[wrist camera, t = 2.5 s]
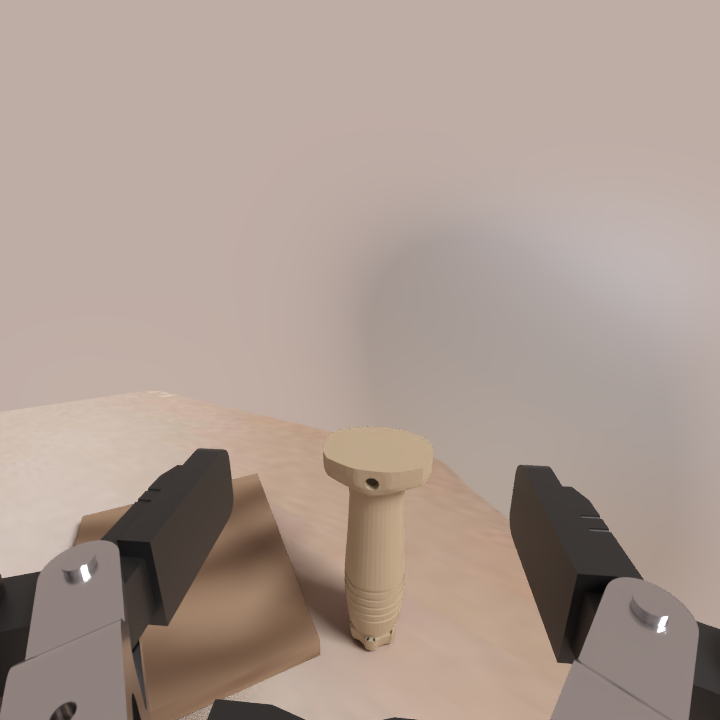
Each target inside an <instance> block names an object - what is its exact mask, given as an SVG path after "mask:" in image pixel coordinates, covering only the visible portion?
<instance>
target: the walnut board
mask: <svg viewBox="0 0 720 720" xmlns="http://www.w3.org/2000/svg"><path fill="white" fill-rule="evenodd" d="M232 486H233V495H234V501H233V508H232V512H231V515H230V518H229V520H228V522H227V523H226V525H225V527H224V529H223V530H222V532H221V534H220V536H219V537H218V539H217V541H216V543H215V544H214V546H213V548H212V550H211V551H210V553H209V555H208V557H207V558H206V560H205V562H204V564H203V565H202V567H201V569H200V571H199V572H198V574H197V576H196V578H195V579H194V581H193V583H192V585H191V587H190V588H189V590H188V592H187V594H186V595H185V597H184V599H183V601H182V602H181V604H180V606H179V608H178V609H177V611H176V613H175V615H174V616H173V618H172V620H171V622H170V623H169V625H168V626H159V625H148V626H147V628H146V629H145V631H144V632H143V634H142V636H141V637H140V639H141V644H142V649H143V658H144V666H145V675H146V683H147V692H148V700H149V709H150V717H151V720H176V719H179V718H181V717H183V716H185V715H188V714H190V713H192V712H194V711H196V710H199V709H201V708H203V707H205V706H207V705H210V704H212V703H214V701H215V699H220V700H221V699H223V698H225V697H227V696H230V695H232V694H234V693H236V692H239V691H241V690H243V689H245V688H247V687H250V686H252V685H254V684H256V683H258V682H261V681H263V680H265V679H267V678H270V677H272V676H274V675H276V674H278V673H281V672H283V671H285V670H287V669H290V668H292V667H294V666H296V665H298V664H301V663H303V662H305V661H307V660H309V659H312V658H314V657H316V656H318V655H320V640H319V636H318V634H317V631H316V628H315V626H314V623H313V620H312V618H311V615H310V612H309V610H308V607H307V604H306V602H305V599H304V596H303V594H302V591H301V588H300V586H299V583H298V581H297V578H296V575H295V573H294V570H293V567H292V565H291V562H290V559H289V557H288V554H287V551H286V549H285V546H284V543H283V541H282V538H281V535H280V533H279V530H278V527H277V525H276V522H275V519H274V517H273V514H272V511H271V509H270V506H269V503H268V501H267V498H266V495H265V493H264V490H263V488H262V485H261V482H260V480H259V477H258V474H254V475H250V476H246V477H242V478H238V479H234V480H232ZM132 505H133V504H131V505H127V506H123V507H119V508H115V509H111V510H107V511H103V512H99V513H95V514H90V515H86V516H83V517H82V521H81V525H80V529H79V533H78V536H77V540H76V544H75V546H77V545H79V544H82V543H86V542H90V541H97V540H100V539H101V538H102V537H103V536H104V535H105V534H106V533H107V532H108V531H109V530H110V529H111V528H112V527H113V526H114V524H115V523H116V522H117V521H118V520H119V519H120V518H121V517H122V516H123V515H124V514H125V513H126V512H127V511H128V510H129V508H130V507H131V506H132Z"/></svg>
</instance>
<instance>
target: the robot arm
mask: <svg viewBox="0 0 720 720" xmlns="http://www.w3.org/2000/svg"><path fill="white" fill-rule="evenodd" d="M233 501H234V495H233V486H232V478H231V470H230V461H229V455H228V452H227V451H226V450H222V449H202V448H199V449H197V450H196V451H195V452H194V453H193V454H192V455H191V456H190V458H189V459H188V460H187V461H186V462H185V463H184V464H183V465H177V466H175V467H174V468H172V469H170V470H169V471H167V472H166V473H164V474H162V475H161V476H160V477H159V478H158V479H157V480H156V481H155V482H154V483H153V484H152V485H151V486H150V487H149V488H148V491H145V492H144V494H143V495H142V496H141V497H140V498H139V499H138V502H135V503H134V504H133V505H132V506H131V507H130V508H129V510H128V511H127V512H126V513H125V514H124V515H123V516H122V517H121V518H120V519H119V520H118V521H117V522H116V523H115V524H114V526H113V527H112V528H111V529H110V530H109V531H108V532H107V533H106V534H105V535H104V536H103V537H102V538H101V539H100V540H97V541H90V542H86V543H82V544H79V545H77V546H74V547H72V548H70V549H68V550H66V551H64V552H62V553H61V554H59V555H58V556H56V557H55V558H54V559H53V560H51V561H50V562H49V563H48V564H47V565H46V566H45V567H44V569H43V570H42V571H41V572H35V573H30V574H24V575H19V576H13V577H8V578H2V577H1V575H0V720H151V717H150V709H149V700H148V692H147V683H146V675H145V666H144V658H143V649H142V644H141V639H140V637H141V636H142V634H143V632H144V631H145V629H146V628H147V626H148V625H159V626H168V625H169V623H170V622H171V620H172V618H173V616H174V615H175V613H176V611H177V609H178V608H179V606H180V604H181V602H182V601H183V599H184V597H185V595H186V594H187V592H188V590H189V588H190V587H191V585H192V583H193V581H194V579H195V578H196V576H197V574H198V572H199V571H200V569H201V567H202V565H203V564H204V562H205V560H206V558H207V557H208V555H209V553H210V551H211V550H212V548H213V546H214V544H215V543H216V541H217V539H218V537H219V536H220V534H221V532H222V530H223V529H224V527H225V525H226V523H227V522H228V520H229V518H230V515H231V512H232V508H233ZM510 529H511V535H512V538H513V541H514V544H515V547H516V549H517V552H518V555H519V558H520V560H521V563H522V566H523V569H524V571H525V574H526V577H527V580H528V582H529V585H530V588H531V591H532V593H533V596H534V599H535V602H536V604H537V607H538V610H539V613H540V616H541V618H542V621H543V624H544V627H545V629H546V632H547V635H548V638H549V640H550V643H551V646H552V649H553V651H554V654H555V657H556V660H557V662H558V663H569V664H572V666H571V669H570V671H569V673H568V676H567V679H566V681H565V684H564V686H563V689H562V691H561V694H560V696H559V699H558V701H557V704H556V706H555V709H554V711H553V714H552V716H551V719H550V720H720V629H718V628H715V627H712V626H708V625H706V624H703V623H700V622H697V621H696V620H695V618H694V617H693V615H692V614H691V612H690V611H689V610H688V609H687V608H686V606H685V605H684V604H683V603H681V602H680V601H679V600H678V599H677V598H676V597H674V596H673V595H672V594H670V593H669V592H667V591H666V590H664V589H662V588H660V587H659V586H657V585H654V584H652V583H650V582H647V581H644V580H643V578H642V577H641V575H640V574H639V572H638V571H637V569H636V568H635V566H634V565H633V564H632V562H631V561H630V559H629V558H628V556H627V555H626V553H625V552H624V550H623V549H622V547H621V546H620V545H619V543H618V542H617V540H616V539H615V537H614V536H613V534H612V533H610V532H609V529H608V527H607V526H606V524H605V523H604V521H603V520H602V519H600V515H599V514H598V513H597V511H596V510H595V508H594V507H593V505H592V504H591V502H590V501H589V500H588V499H587V498H585V497H584V496H583V495H581V494H580V493H579V492H578V491H576V490H575V489H574V488H572V487H563V486H562V485H561V484H560V482H559V480H558V479H557V477H556V475H555V474H554V472H553V471H552V469H551V468H550V467H548V466H532V465H519V466H518V467H517V470H516V474H515V482H514V489H513V495H512V503H511V509H510ZM207 720H305V719H303V718H300V717H298V716H296V715H294V714H291V713H289V712H287V711H285V710H283V709H280V708H278V707H276V706H274V705H269V704H259V703H249V702H240V701H230V700H220V699H215V701H214V703H213V706H212V709H211V711H210V714H209V716H208V719H207ZM385 720H415V719H405V718H395V717H394V718H389V719H385Z"/></svg>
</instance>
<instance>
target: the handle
mask: <svg viewBox="0 0 720 720" xmlns="http://www.w3.org/2000/svg"><path fill="white" fill-rule="evenodd" d="M323 458H324V468H325V470H326V473H327V474H328V476H330V477H332V478H333V479H335V480H337V481H338V482H340V483H342V484H344V485H346V486H348V487H349V492H350V498H349V517H348V533H347V545H346V558H345V591H346V600H347V607H348V612H349V616H350V619H351V621H349V624H350V630H351V634H352V637H353V638H354V639H357V640H359V641H361V642H362V643H363V644H364V646H365V649H367V650H370V651H374V650H375V649H376V648H377V647H379V646H381V645H385V644H388V645H389V644H391V643H392V641H393V639H394V637H395V632H396V628H395V624H396V622H397V619H398V616H399V613H400V609H401V604H402V598H403V591H404V579H405V553H404V493H405V490H408V489H412V488H415V487H418V486H421V485H423V484H424V483H425V482H426V481H427V480H428V479H429V477H430V474H431V470H432V462H433V448H432V446H431V444H430V442H429V441H427V439H426V438H424V437H421V436H419V435H416V434H413V433H409V432H406V431H403V430H399V429H393V428H383V427H368V426H367V427H356V428H348V429H341V430H338V431H336V432H334V433H332V434H331V435H330V436H329V437H328V438H327V440H326V441H325V443H324V446H323Z"/></svg>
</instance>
